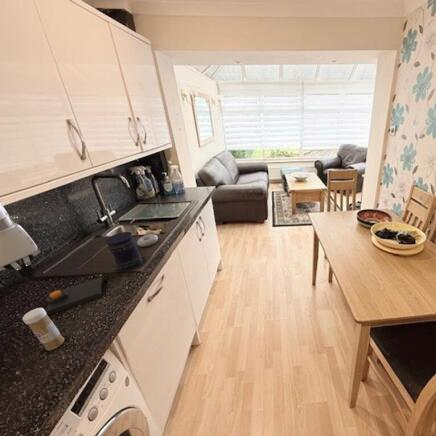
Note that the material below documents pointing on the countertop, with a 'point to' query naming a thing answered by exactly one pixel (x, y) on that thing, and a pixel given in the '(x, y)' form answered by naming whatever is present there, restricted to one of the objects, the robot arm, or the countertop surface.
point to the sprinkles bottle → (43, 328)
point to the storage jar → (124, 251)
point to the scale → (75, 295)
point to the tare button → (55, 294)
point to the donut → (147, 240)
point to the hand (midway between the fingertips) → (29, 276)
